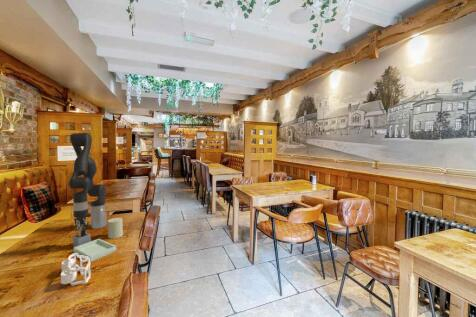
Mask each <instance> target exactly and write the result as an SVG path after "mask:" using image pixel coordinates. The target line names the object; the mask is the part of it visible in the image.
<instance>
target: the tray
mask: <svg viewBox="0 0 476 317" xmlns="http://www.w3.org/2000/svg"><path fill="white" fill-rule="evenodd" d="M115 252H117V245H114V244H112V243H110V242H107V241H105V240H103V239H101V238H97V239H94V240H91V242H88V243H85V244H82V245H79V246H77V247H74V246H73V253H78V255H83V256H88V258H90V263H92V262H94V261H97V260H99V259H101V258H104V257H106V256H108V255H110V254H113V253H115Z"/></svg>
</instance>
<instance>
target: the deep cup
mask: <svg viewBox="0 0 476 317" xmlns="http://www.w3.org/2000/svg"><path fill="white" fill-rule="evenodd" d="M85 234H86V235H85V236H83V237H80V238H78V234H76V235H72V246H73V248H74V247H77V246H79V245H82V244H85V243H88V242H91V241H92V238H91V237H92V234H91V233H88V232H86V231H85Z"/></svg>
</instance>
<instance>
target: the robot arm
mask: <svg viewBox="0 0 476 317" xmlns="http://www.w3.org/2000/svg"><path fill="white" fill-rule="evenodd" d="M69 139H70V143H71V146H72V149H73V151H74V152H75V155H76V158H75V160H74V163H73V171H72V175H71V177H70V179H69V182H68V187H69V188H70V189H72V190H77V189H79V190H80V189H82V190H81V191H77V192H74V193H73V204H72V208H73V210H72V212H73V215H72V216H73V220H74V225H75V228H76V229H77V230H78V229H79V228H81V236H85V235H86V234H85V232H86V230H88V228H89V220H87V218H86V217H87V216H88V215H89V201H88V197H95V198H96V197H97V199H94V200H92V201H91V202H90V227H91V229H93V230H97V229H102V228H104V227H106V226H108V220H107V212H106V204H105V203H106V191H107V190H106V186H105V184H95V183H94V178H95V175H96V173H97V171H98V169H97V168H98V167H97V164H96V161H95V160H94V159H93V158H92V156H90V152H91V148H92V142H93V140H92V136H91V134H90V133H89V132H75V133H71V134H70V137H69ZM82 147H83V148H82ZM81 176H82V177H81Z"/></svg>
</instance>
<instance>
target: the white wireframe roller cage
mask: <svg viewBox="0 0 476 317" xmlns="http://www.w3.org/2000/svg"><path fill="white" fill-rule="evenodd" d="M72 257H73V258H72ZM77 258H79V264H77ZM86 262H87V265H86V266H85V267H84V266H83V264H84V263H86ZM77 272H80V275H81V276H83V279H84V280H79V281H76V280H77V278H78V277H77V275H78V274H77ZM90 279H91V262H90V258H88V256H83V255H78V253H74V252H72V254H70V255H68V258H67V259H64V260H62V262H61V273H60V283H61V284H62V285H68V284H69V285H71V287H72V286H73V287H74V286H76V285H85V284H86V283H88V282H89V281H90Z"/></svg>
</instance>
